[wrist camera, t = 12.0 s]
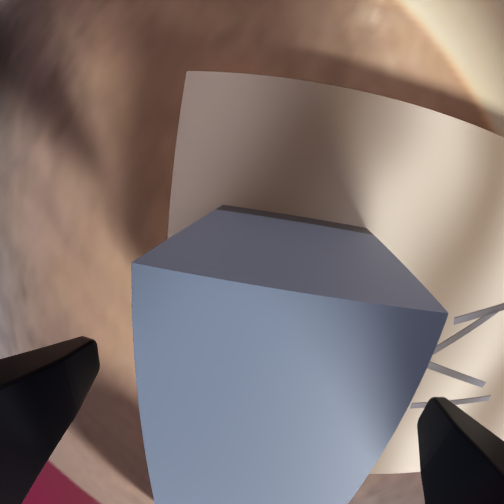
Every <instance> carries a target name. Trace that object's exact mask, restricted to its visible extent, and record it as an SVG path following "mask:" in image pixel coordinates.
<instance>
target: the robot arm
mask: <svg viewBox="0 0 504 504" xmlns="http://www.w3.org/2000/svg"><path fill="white" fill-rule="evenodd" d="M99 368H100V363H99V356H98V348H97V343H96V341H95V340H93V339H90V338H87V337H84V336H81V337H78V338H74V339H71V340H67V341H64V342H60V343H57V344H53V345H50V346H46V347H43V348H39V349H36V350H32V351H29V352H25V353H21V354H18V355H14V356H11V357H7V358H3V359H0V504H22V502H23V500H24V499H25V497H26V495H27V494H28V492H29V490H30V488H31V487H32V485H33V483H34V482H35V480H36V478H37V476H38V475H39V473H40V472H41V470H42V468H43V467H44V465H45V464H46V462H47V460H48V459H49V457H50V455H51V454H52V452H53V451H54V449H55V447H56V446H57V444H58V443H59V441H60V440H61V438H62V436H63V435H64V433H65V432H66V430H67V429H68V427H69V426H70V424H71V422H72V421H73V419H74V418H75V416H76V414H77V413H78V411H79V409H80V407H81V405H82V403H83V401H84V399H85V397H86V395H87V393H88V391H89V389H90V387H91V385H92V384H93V382H94V380H95V378H96V376H97V374H98V372H99ZM417 432H418V444H419V458H420V471H421V478H422V485H423V491H424V498H425V504H504V441H503V440H502V439H500V438H499V437H498V436H496V435H495V434H494V433H492V432H491V431H490V430H488V429H487V428H486V427H484V426H483V425H481V424H480V423H479V422H477V421H476V420H475V419H473V418H472V417H471V416H469V415H468V414H467V413H465V412H464V411H463V410H461V409H460V408H459V407H457V406H456V405H455V404H453V403H452V402H451V401H449V400H448V399H447V398H445V397H432V398H430V399H429V401H428V402H427V404H426V406H425V408H424V410H423V412H422V413H421V415H420V417H419V419H418V422H417Z"/></svg>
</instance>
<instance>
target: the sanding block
mask: <svg viewBox="0 0 504 504" xmlns="http://www.w3.org/2000/svg"><path fill="white" fill-rule="evenodd" d="M448 314H449V313H448V312H447V311H446V310H445V308H444V307H443V306H442V305H441V304H440V303H439V302H438V301H437V300H436V298H435V297H434V296H433V295H432V294H431V293H430V292H429V291H428V290H427V289H426V288H425V286H424V285H423V284H422V283H421V282H420V281H419V280H418V279H417V278H416V277H415V276H414V275H413V274H412V273H411V272H410V271H409V270H408V269H407V268H406V267H405V265H404V264H403V263H402V262H401V261H400V260H399V259H398V258H397V257H396V256H395V255H394V254H393V253H392V252H391V251H390V250H389V249H388V248H387V247H386V246H385V245H384V244H383V243H382V242H381V241H380V240H379V239H378V238H377V237H375V236H374V235H373V234H372V233H371V232H370V231H369V230H368V229H367V228H364V227H359V226H353V225H348V224H342V223H336V222H330V221H325V220H319V219H313V218H307V217H301V216H294V215H288V214H282V213H275V212H269V211H262V210H256V209H249V208H242V207H235V206H228V205H222V206H220V207H219V208H217V209H215V210H214V211H212V212H210V213H209V214H207V215H205V216H204V217H202V218H201V219H199V220H197V221H196V222H194V223H192V224H191V225H189V226H188V227H186V228H184V229H183V230H181V231H180V232H178V233H177V234H175V235H173V236H172V237H170V238H169V239H167V240H166V241H164V242H162V243H161V244H159V245H158V246H156V247H155V248H153V249H152V250H150V251H149V252H147V253H145V254H144V255H142V256H141V257H139V258H138V259H136V260H135V261H133V262H132V322H133V343H134V358H135V372H136V383H137V393H138V403H139V412H140V420H141V427H142V435H143V442H144V448H145V454H146V461H147V466H148V472H149V477H150V483H151V488H152V493H153V498H154V502H155V504H348V503H349V501H350V500H351V499H352V497H353V496H354V494H355V493H356V492H357V490H358V489H359V487H360V486H361V485H362V483H363V482H364V480H365V479H366V477H367V476H368V474H369V473H370V471H371V470H372V468H373V467H374V465H375V464H376V462H377V460H378V459H379V457H380V456H381V454H382V452H383V451H384V449H385V448H386V446H387V444H388V443H389V441H390V439H391V437H392V436H393V434H394V432H395V430H396V429H397V427H398V425H399V423H400V421H401V420H402V418H403V416H404V414H405V412H406V410H407V408H408V406H409V404H410V403H411V401H412V399H413V397H414V395H415V393H416V390H417V388H418V386H419V384H420V382H421V380H422V378H423V376H424V373H425V371H426V369H427V367H428V365H429V362H430V360H431V358H432V355H433V353H434V350H435V348H436V346H437V343H438V341H439V338H440V336H441V333H442V330H443V328H444V325H445V322H446V320H447V317H448Z"/></svg>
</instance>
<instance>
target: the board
mask: <svg viewBox="0 0 504 504" xmlns="http://www.w3.org/2000/svg"><path fill="white" fill-rule="evenodd" d="M222 205H228V206H235V207H242V208H249V209H256V210H262V211H269V212H275V213H282V214H288V215H294V216H301V217H307V218H313V219H319V220H325V221H330V222H336V223H342V224H348V225H353V226H359V227H364V228H367V229H368V230H369V231H370V232H371V233H372V234H373V235H374V236H375V237H377V238H378V239H379V240H380V241H381V242H382V243H383V244H384V245H385V246H386V247H387V248H388V249H389V250H390V251H391V252H392V253H393V254H394V255H395V256H396V257H397V258H398V259H399V260H400V261H401V262H402V263H403V264H404V265H405V267H406V268H407V269H408V270H409V271H410V272H411V273H412V274H413V275H414V276H415V277H416V278H417V279H418V280H419V281H420V282H421V283H422V284H423V285H424V286H425V288H426V289H427V290H428V291H429V292H430V293H431V294H432V295H433V296H434V297H435V298H436V300H437V301H438V302H439V303H440V304H441V305H442V306H443V307H444V308H445V310H446V311H447V312H448V313H449V314H448V317H447V320H446V322H445V325H444V328H443V330H442V333H441V336H440V338H439V341H438V343H437V346H436V348H435V350H434V353H433V355H432V358H431V360H430V362H429V365H428V367H427V369H426V371H425V373H424V376H423V378H422V380H421V382H420V384H419V386H418V388H417V390H416V393H415V395H414V397H413V399H412V401H411V403H410V404H409V406H408V408H407V410H406V412H405V414H404V416H403V418H402V420H401V421H400V423H399V425H398V427H397V429H396V430H395V432H394V434H393V436H392V437H391V439H390V441H389V443H388V444H387V446H386V448H385V449H384V451H383V452H382V454H381V456H380V457H379V459H378V460H377V462H376V464H375V465H374V467H373V468H372V470H371V471H370V473H369V474H389V473H410V472H421V471H420V458H419V444H418V432H417V422H418V419H419V417H420V415H421V413H422V412H423V410H424V408H425V406H426V404H427V402H428V401H429V399H430V398H432V397H445V398H447V399H448V400H449V401H451V402H452V403H453V404H455V405H456V406H457V407H459V408H460V409H461V410H463V411H464V412H465V413H467V414H468V415H469V416H471V417H472V418H473V419H475V420H476V421H477V422H479V423H480V424H481V425H483V426H484V427H486V428H487V429H488V430H490V431H491V432H492V433H494V434H495V435H496V436H498V437H499V438H500V439H502V440H503V441H504V137H502V136H500V135H497V134H495V133H492V132H490V131H488V130H485V129H483V128H480V127H478V126H475V125H473V124H470V123H467V122H465V121H462V120H459V119H457V118H454V117H451V116H448V115H445V114H442V113H439V112H436V111H433V110H430V109H427V108H424V107H420V106H417V105H414V104H410V103H407V102H403V101H400V100H396V99H392V98H388V97H384V96H380V95H376V94H372V93H368V92H363V91H359V90H354V89H350V88H345V87H340V86H334V85H329V84H323V83H318V82H311V81H305V80H298V79H291V78H283V77H275V76H266V75H256V74H245V73H231V72H211V71H187V72H186V78H185V84H184V90H183V97H182V103H181V110H180V117H179V125H178V132H177V140H176V148H175V157H174V166H173V175H172V186H171V196H170V208H169V221H168V235H167V239H169V238H170V237H172V236H173V235H175V234H177V233H178V232H180V231H181V230H183V229H184V228H186V227H188V226H189V225H191V224H192V223H194V222H196V221H197V220H199V219H201V218H202V217H204V216H205V215H207V214H209V213H210V212H212V211H214V210H215V209H217V208H219V207H220V206H222Z"/></svg>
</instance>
